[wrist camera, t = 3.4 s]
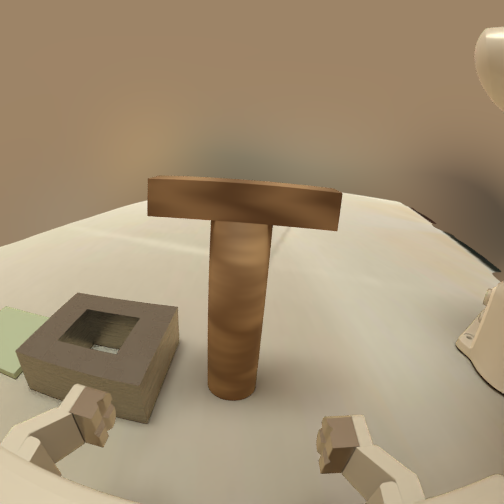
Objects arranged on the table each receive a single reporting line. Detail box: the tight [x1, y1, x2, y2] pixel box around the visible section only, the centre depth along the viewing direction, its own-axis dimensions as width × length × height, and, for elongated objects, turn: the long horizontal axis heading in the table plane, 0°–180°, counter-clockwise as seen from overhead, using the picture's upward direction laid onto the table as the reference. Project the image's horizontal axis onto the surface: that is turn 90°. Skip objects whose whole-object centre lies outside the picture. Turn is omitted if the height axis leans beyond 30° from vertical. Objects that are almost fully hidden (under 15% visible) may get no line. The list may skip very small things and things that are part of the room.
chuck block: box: [15, 293, 179, 424], centre depth 24 cm, size 11×11×4 cm
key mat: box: [0, 306, 49, 379], centre depth 24 cm, size 10×10×1 cm
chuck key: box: [148, 176, 342, 400], centre depth 22 cm, size 12×4×16 cm, turn 89°
